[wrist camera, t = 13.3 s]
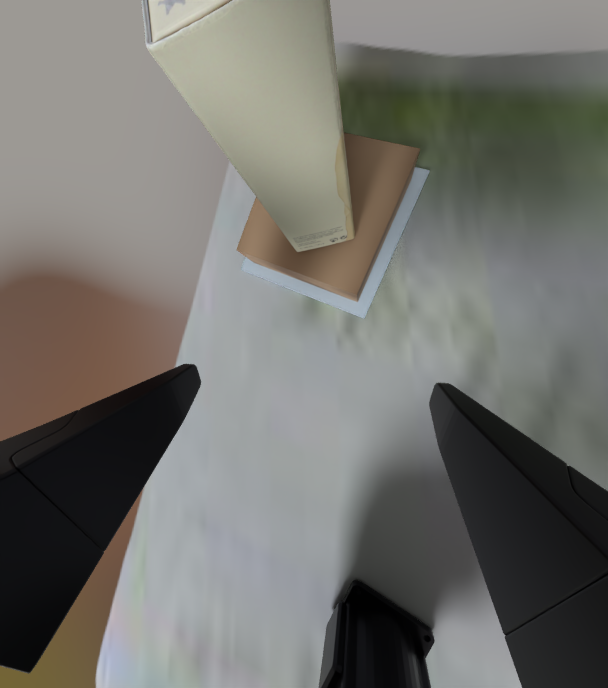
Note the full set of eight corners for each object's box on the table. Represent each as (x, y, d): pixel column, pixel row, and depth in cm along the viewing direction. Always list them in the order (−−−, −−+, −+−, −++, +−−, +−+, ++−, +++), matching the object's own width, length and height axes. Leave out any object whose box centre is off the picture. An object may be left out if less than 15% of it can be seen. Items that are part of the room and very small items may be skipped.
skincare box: (355, 240, 16) (336, -47, 4) (294, 254, 17) (141, 57, 5) (344, 151, 16) (295, -365, 4) (284, 171, 17) (114, -201, 5)
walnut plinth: (411, 180, 18) (420, 148, 15) (357, 302, 19) (356, 294, 16) (296, 152, 20) (284, 120, 17) (253, 262, 21) (236, 249, 18)
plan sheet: (428, 173, 18) (430, 170, 18) (364, 318, 19) (364, 318, 19) (291, 141, 21) (290, 138, 20) (242, 270, 22) (240, 269, 21)
